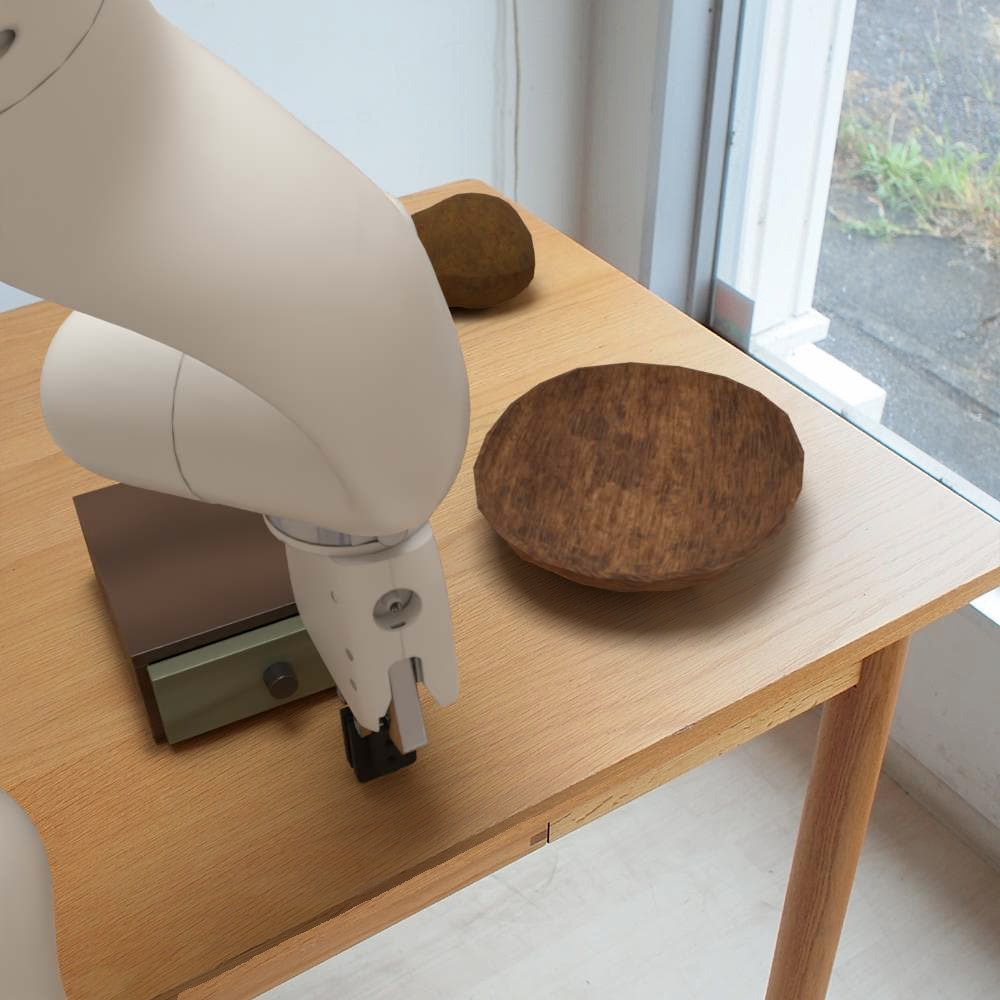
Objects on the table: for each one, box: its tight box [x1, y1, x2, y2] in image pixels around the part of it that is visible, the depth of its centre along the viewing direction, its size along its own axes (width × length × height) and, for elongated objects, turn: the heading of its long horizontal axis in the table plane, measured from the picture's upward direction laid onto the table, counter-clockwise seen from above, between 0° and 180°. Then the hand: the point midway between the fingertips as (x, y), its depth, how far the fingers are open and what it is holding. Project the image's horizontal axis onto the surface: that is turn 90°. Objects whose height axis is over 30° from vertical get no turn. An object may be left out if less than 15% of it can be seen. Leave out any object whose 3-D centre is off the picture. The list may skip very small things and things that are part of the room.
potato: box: [410, 192, 536, 310], centre depth 103 cm, size 8×12×9 cm
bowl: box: [472, 361, 806, 593], centre depth 82 cm, size 20×22×5 cm
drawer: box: [147, 613, 336, 745], centre depth 74 cm, size 15×12×5 cm
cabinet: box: [71, 482, 299, 745], centre depth 75 cm, size 15×14×7 cm
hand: (382, 762), depth 67 cm, fingers closed
